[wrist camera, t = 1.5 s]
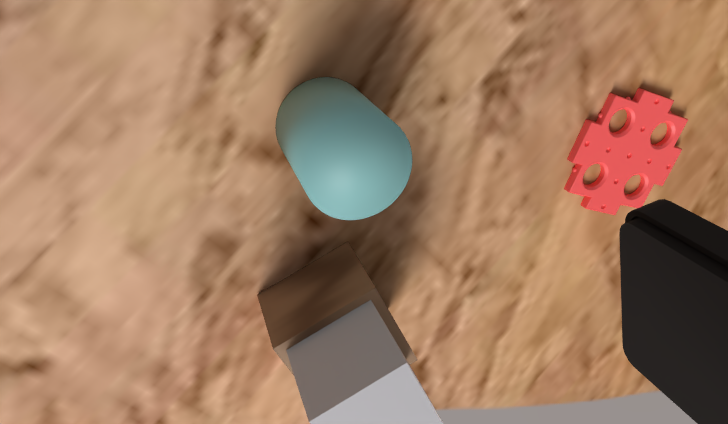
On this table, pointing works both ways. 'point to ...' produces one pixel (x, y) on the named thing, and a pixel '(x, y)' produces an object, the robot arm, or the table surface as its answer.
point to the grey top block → (358, 374)
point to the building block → (625, 151)
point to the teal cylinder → (343, 148)
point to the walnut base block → (322, 301)
